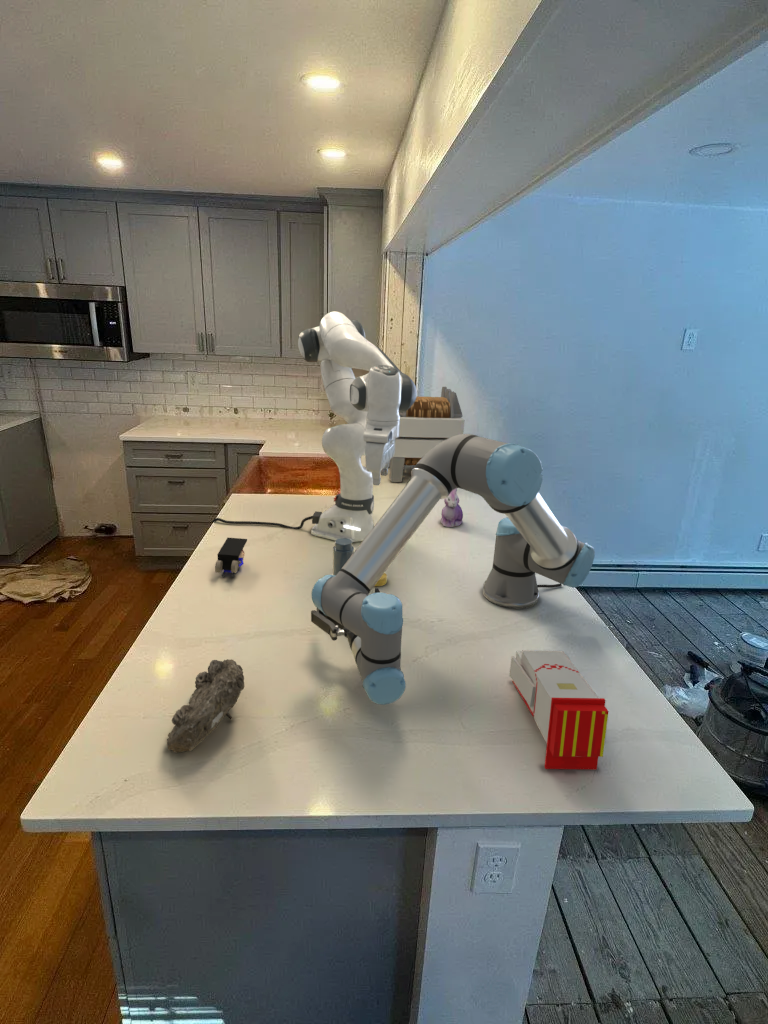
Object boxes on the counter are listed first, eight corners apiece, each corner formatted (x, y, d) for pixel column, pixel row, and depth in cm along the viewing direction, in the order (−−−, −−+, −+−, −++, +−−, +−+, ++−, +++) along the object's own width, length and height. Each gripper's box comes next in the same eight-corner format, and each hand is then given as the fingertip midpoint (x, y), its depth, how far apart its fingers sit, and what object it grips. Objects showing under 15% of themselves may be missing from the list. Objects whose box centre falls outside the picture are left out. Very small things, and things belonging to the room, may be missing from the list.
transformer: (382, 463, 289) (386, 382, 275) (445, 464, 293) (451, 384, 279) (390, 482, 257) (394, 392, 243) (460, 483, 261) (468, 394, 247)
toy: (559, 632, 124) (618, 706, 95) (553, 688, 127) (609, 777, 97) (504, 631, 123) (546, 705, 94) (499, 687, 126) (539, 776, 97)
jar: (330, 607, 149) (331, 538, 143) (349, 605, 151) (351, 536, 144) (334, 617, 145) (335, 546, 138) (354, 615, 146) (356, 544, 139)
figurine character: (238, 584, 162) (249, 557, 175) (236, 562, 158) (247, 536, 172) (215, 584, 161) (227, 556, 175) (212, 561, 158) (225, 535, 171)
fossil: (192, 660, 117) (244, 628, 112) (224, 691, 120) (276, 661, 115) (142, 746, 98) (202, 712, 93) (182, 779, 101) (242, 748, 96)
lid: (383, 587, 161) (383, 581, 160) (363, 584, 162) (363, 577, 162) (388, 578, 166) (389, 572, 166) (369, 575, 168) (369, 569, 167)
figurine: (448, 529, 205) (451, 490, 200) (433, 520, 214) (436, 482, 209) (469, 526, 210) (473, 487, 204) (454, 517, 218) (457, 479, 213)
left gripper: (379, 421, 160) (377, 469, 164) (361, 436, 141) (360, 489, 145) (401, 423, 158) (398, 471, 163) (386, 438, 139) (384, 491, 144)
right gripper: (308, 667, 115) (296, 614, 134) (425, 653, 121) (398, 604, 140) (308, 635, 112) (296, 586, 132) (427, 622, 119) (399, 577, 138)
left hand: (380, 479), depth 154 cm, fingers open, 8 cm apart
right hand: (348, 595), depth 136 cm, fingers open, 13 cm apart
